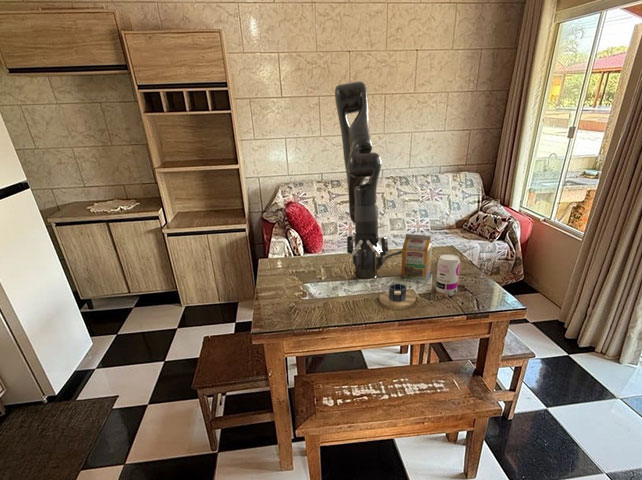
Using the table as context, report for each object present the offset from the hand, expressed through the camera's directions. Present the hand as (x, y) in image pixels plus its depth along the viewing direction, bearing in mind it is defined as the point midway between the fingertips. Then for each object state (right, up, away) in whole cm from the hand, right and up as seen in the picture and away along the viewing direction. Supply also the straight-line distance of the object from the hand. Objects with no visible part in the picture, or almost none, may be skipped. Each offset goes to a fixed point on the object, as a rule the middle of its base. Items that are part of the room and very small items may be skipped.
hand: (367, 266), depth 141 cm
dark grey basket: (+13, -10, +17) cm, 23 cm away
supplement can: (+33, -7, +24) cm, 41 cm away
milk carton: (+24, +1, +39) cm, 46 cm away
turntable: (+13, -11, +18) cm, 25 cm away
